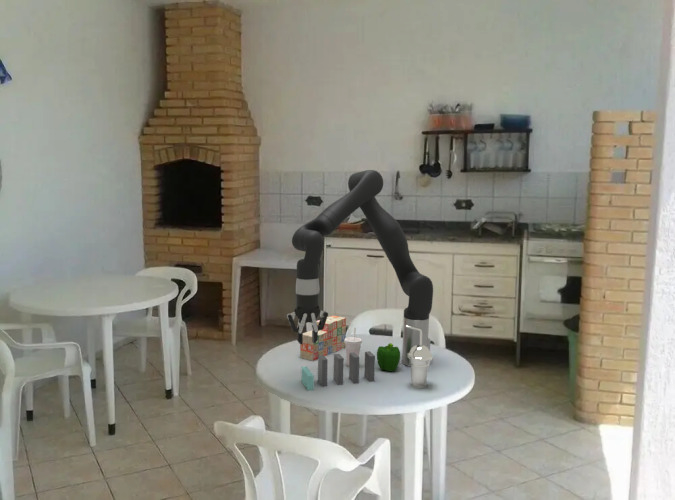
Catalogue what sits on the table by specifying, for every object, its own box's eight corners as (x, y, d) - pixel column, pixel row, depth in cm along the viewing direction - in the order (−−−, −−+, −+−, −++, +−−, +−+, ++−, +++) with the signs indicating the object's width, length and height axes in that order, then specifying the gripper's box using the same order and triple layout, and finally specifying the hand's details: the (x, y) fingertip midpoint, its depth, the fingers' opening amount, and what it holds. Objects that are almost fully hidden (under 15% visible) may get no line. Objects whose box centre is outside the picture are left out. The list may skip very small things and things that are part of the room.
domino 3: (338, 379, 217) (339, 353, 215) (343, 384, 212) (343, 358, 211) (333, 379, 216) (334, 354, 215) (337, 384, 212) (338, 358, 210)
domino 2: (322, 380, 215) (323, 354, 214) (327, 385, 210) (327, 359, 209) (317, 381, 215) (318, 355, 213) (321, 386, 210) (322, 360, 209)
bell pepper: (376, 365, 232) (376, 338, 231) (398, 365, 232) (399, 339, 230) (376, 373, 224) (377, 345, 222) (400, 373, 224) (401, 346, 222)
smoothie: (359, 368, 228) (360, 330, 225) (341, 367, 229) (342, 329, 227) (362, 363, 234) (363, 326, 232) (345, 361, 235) (346, 324, 233)
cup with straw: (421, 391, 207) (424, 331, 204) (399, 384, 213) (401, 326, 210) (436, 385, 213) (439, 326, 210) (414, 378, 219) (416, 321, 216)
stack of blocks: (313, 361, 235) (313, 329, 233) (299, 358, 238) (300, 326, 237) (345, 347, 252) (346, 317, 250) (332, 344, 256) (333, 314, 254)
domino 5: (369, 376, 220) (369, 351, 219) (374, 381, 215) (375, 355, 214) (364, 377, 219) (364, 351, 218) (369, 382, 215) (369, 356, 213)
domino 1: (313, 390, 207) (306, 380, 215) (313, 375, 206) (306, 366, 214) (308, 390, 206) (301, 381, 215) (308, 375, 205) (301, 366, 214)
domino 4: (353, 377, 218) (354, 352, 217) (358, 383, 214) (359, 357, 212) (348, 378, 218) (349, 352, 216) (353, 383, 213) (354, 357, 212)
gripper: (325, 287, 212) (325, 338, 214) (283, 290, 207) (283, 341, 210) (332, 292, 205) (331, 344, 207) (288, 295, 200) (288, 348, 203)
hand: (307, 342), depth 209 cm, fingers open, 4 cm apart
